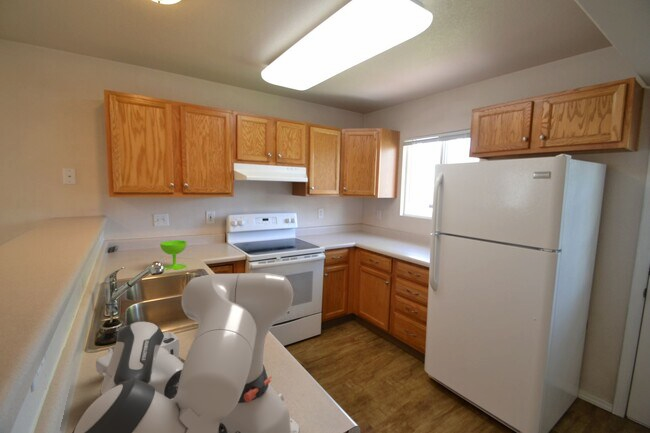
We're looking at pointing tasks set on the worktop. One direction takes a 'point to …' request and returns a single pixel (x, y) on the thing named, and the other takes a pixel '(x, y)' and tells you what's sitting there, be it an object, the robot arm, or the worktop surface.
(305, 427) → the worktop surface
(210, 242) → the worktop surface
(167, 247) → the wineglass
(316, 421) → the worktop surface
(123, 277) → the worktop surface
